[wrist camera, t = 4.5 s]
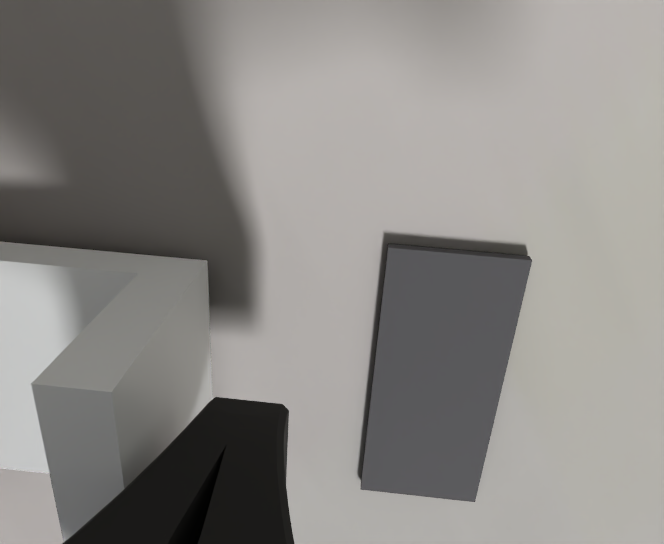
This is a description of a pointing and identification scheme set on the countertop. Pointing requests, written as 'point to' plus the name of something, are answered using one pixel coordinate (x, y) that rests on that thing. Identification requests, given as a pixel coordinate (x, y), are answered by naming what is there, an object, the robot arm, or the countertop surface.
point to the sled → (98, 366)
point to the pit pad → (439, 368)
